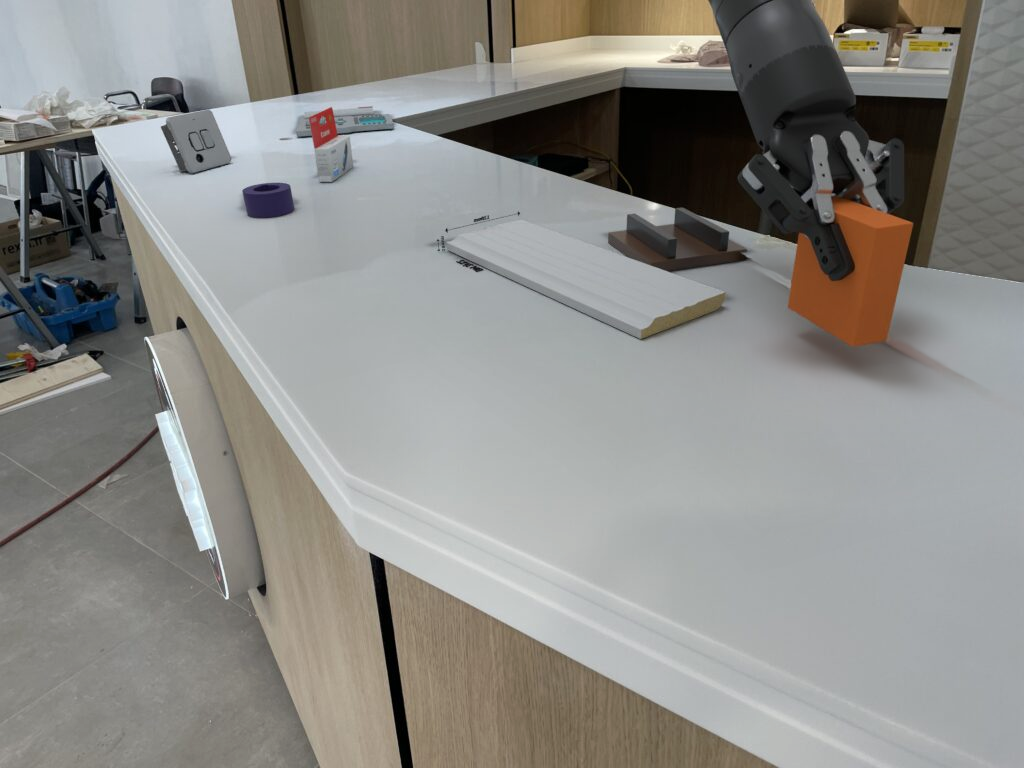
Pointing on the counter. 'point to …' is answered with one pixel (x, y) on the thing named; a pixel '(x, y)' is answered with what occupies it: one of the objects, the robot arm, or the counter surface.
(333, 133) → the ink cartridge box
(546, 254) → the baseboard molding
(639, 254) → the brown slotted base
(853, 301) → the orange rectangular block
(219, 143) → the electrical switch
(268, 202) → the purple donut ring
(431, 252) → the counter surface
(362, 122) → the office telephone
